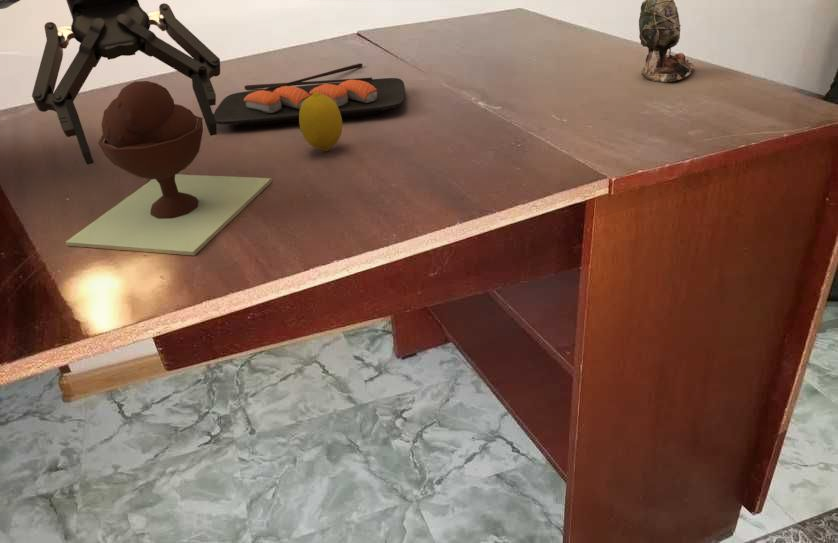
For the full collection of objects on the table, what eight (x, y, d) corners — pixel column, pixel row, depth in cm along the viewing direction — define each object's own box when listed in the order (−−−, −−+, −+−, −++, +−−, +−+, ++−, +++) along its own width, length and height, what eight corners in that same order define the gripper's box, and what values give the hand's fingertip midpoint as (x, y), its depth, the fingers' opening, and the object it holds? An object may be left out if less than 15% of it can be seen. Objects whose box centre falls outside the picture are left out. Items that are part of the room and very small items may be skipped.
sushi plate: (209, 136, 102) (203, 110, 100) (245, 77, 128) (241, 56, 126) (406, 117, 102) (404, 91, 100) (403, 62, 127) (401, 40, 125)
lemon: (354, 146, 94) (346, 87, 90) (327, 161, 90) (317, 101, 86) (323, 140, 97) (313, 83, 92) (296, 155, 93) (285, 96, 89)
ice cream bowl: (241, 192, 83) (210, 65, 75) (177, 236, 74) (135, 99, 67) (172, 183, 87) (137, 62, 79) (105, 224, 79) (57, 93, 71)
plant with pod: (616, 78, 109) (625, -63, 98) (668, 63, 113) (681, -74, 103) (657, 90, 103) (671, -59, 92) (709, 72, 107) (728, -71, 97)
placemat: (66, 245, 76) (65, 241, 76) (161, 176, 90) (160, 173, 90) (194, 255, 72) (193, 251, 71) (272, 181, 86) (271, 178, 86)
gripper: (204, -12, 89) (259, 133, 85) (-11, 23, 81) (40, 186, 77) (202, -54, 82) (263, 102, 78) (-33, -21, 74) (21, 156, 70)
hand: (152, 144), depth 78 cm, fingers open, 13 cm apart
